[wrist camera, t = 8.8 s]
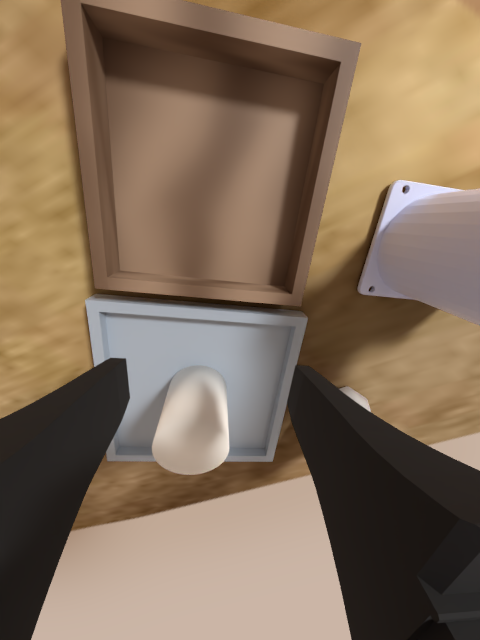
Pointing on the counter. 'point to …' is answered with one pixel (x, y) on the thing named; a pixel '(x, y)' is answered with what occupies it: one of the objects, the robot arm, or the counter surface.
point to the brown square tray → (203, 145)
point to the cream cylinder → (193, 422)
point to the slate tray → (198, 349)
